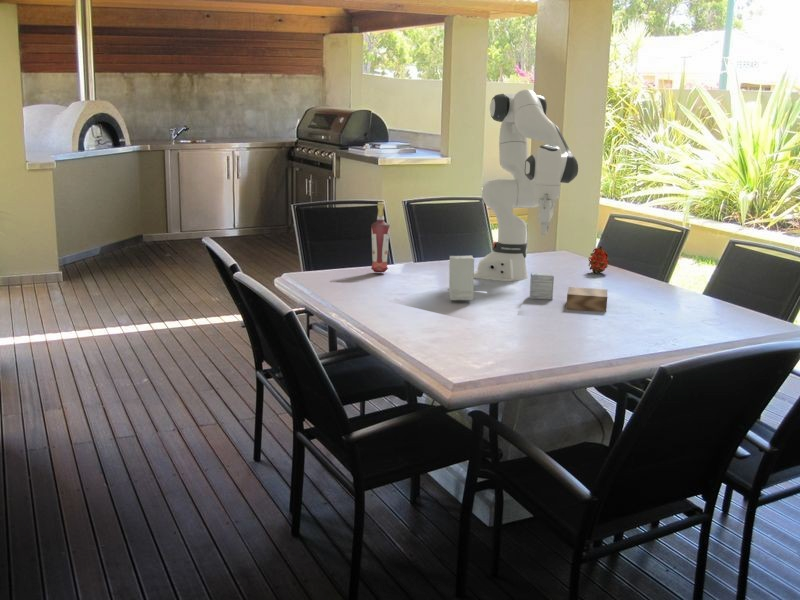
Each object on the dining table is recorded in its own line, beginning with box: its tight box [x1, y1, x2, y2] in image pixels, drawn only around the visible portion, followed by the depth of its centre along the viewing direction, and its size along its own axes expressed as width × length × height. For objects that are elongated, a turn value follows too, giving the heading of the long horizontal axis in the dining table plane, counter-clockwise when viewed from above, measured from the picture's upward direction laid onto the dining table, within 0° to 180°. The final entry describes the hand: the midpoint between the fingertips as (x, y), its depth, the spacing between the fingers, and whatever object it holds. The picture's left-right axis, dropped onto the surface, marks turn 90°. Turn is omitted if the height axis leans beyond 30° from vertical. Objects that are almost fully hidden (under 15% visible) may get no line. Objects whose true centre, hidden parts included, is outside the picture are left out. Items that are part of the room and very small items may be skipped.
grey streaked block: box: [529, 272, 555, 301], centre depth 297 cm, size 8×4×9 cm, turn 84°
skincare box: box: [448, 255, 475, 301], centre depth 293 cm, size 8×6×15 cm
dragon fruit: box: [588, 245, 610, 274], centre depth 347 cm, size 8×8×12 cm
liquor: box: [370, 201, 390, 273], centre depth 340 cm, size 7×7×28 cm
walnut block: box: [565, 286, 608, 312], centre depth 286 cm, size 13×13×5 cm
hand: (544, 233), depth 293 cm, fingers open, 8 cm apart
